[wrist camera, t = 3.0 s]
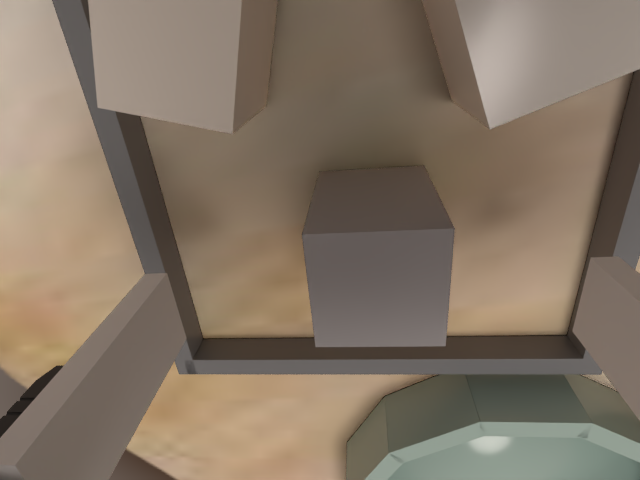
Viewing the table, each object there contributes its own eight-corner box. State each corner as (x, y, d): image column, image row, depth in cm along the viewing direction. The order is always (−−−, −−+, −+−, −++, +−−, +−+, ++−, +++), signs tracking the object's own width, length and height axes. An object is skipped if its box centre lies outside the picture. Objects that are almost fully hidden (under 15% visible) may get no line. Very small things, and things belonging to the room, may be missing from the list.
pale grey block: (414, -22, 14) (442, -46, 9) (549, -93, 12) (654, -160, 8) (451, 101, 15) (490, 129, 11) (573, 48, 14) (670, 56, 10)
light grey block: (168, -32, 14) (82, -60, 10) (279, -10, 14) (243, -28, 10) (169, 86, 16) (97, 107, 12) (266, 105, 16) (232, 134, 12)
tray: (51, -93, 14) (16, -107, 12) (739, -193, 11) (794, -225, 10) (190, 352, 23) (179, 374, 21) (584, 350, 20) (601, 374, 19)
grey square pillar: (319, 171, 17) (301, 234, 12) (423, 165, 17) (454, 228, 11) (327, 259, 19) (315, 347, 14) (420, 256, 19) (445, 346, 13)
